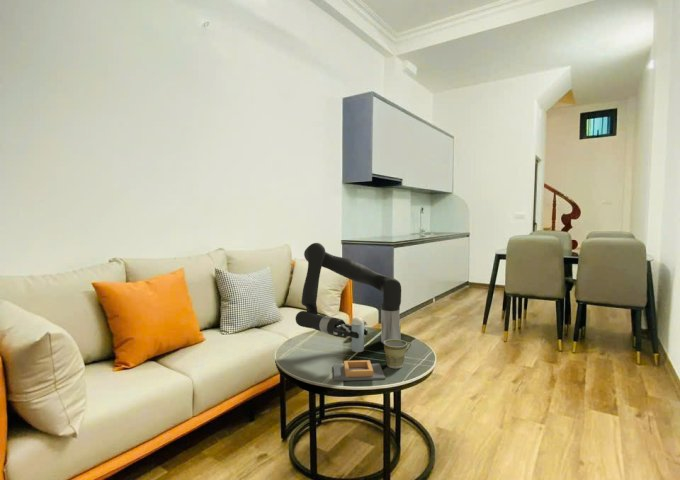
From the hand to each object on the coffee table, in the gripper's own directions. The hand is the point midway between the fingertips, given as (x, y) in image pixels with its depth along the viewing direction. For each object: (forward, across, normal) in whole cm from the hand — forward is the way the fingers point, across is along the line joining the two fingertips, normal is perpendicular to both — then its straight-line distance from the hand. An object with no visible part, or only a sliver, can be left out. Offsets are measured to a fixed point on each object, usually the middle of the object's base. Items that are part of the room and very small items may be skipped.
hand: (362, 334), depth 150 cm
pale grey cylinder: (-3, 0, +7) cm, 7 cm away
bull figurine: (-31, +36, +17) cm, 51 cm away
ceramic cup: (+5, +18, +17) cm, 25 cm away
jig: (-2, 0, +17) cm, 17 cm away
